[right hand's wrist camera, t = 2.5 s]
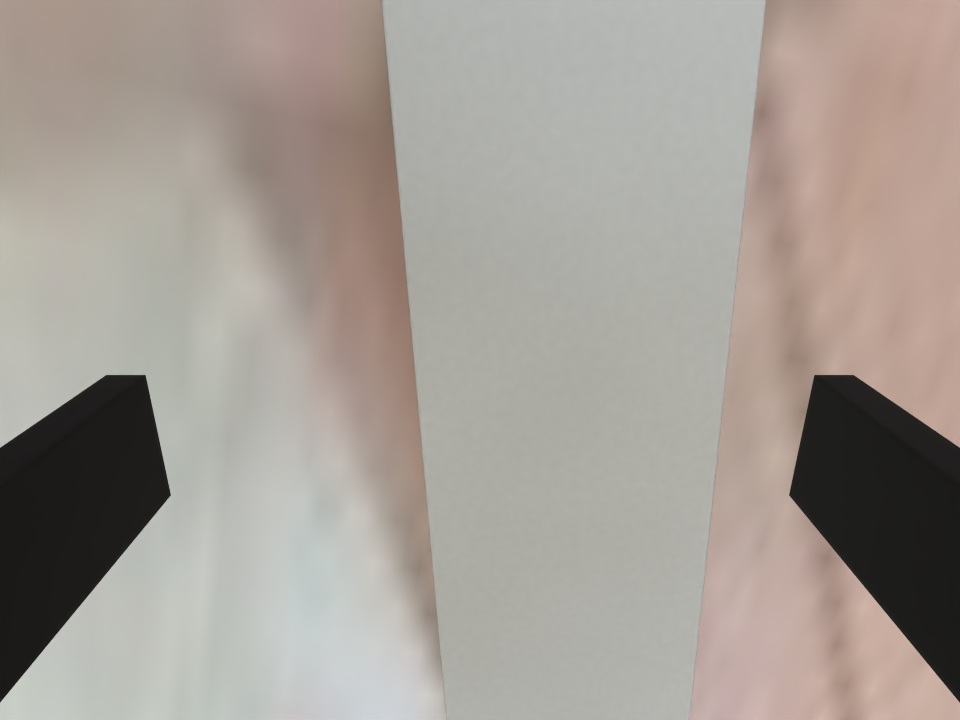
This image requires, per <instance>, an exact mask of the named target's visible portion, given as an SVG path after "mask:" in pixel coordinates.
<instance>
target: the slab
mask: <svg viewBox="0 0 960 720" xmlns="http://www.w3.org/2000/svg"><path fill="white" fill-rule="evenodd" d="M381 4H382V15H383V26H384V37H385V48H386V59H387V70H388V81H389V92H390V103H391V114H392V125H393V136H394V147H395V158H396V169H397V180H398V191H399V202H400V213H401V224H402V236H403V247H404V258H405V269H406V280H407V291H408V302H409V313H410V324H411V335H412V346H413V357H414V368H415V379H416V390H417V401H418V412H419V423H420V434H421V445H422V456H423V467H424V478H425V489H426V501H427V512H428V523H429V534H430V545H431V556H432V567H433V578H434V589H435V600H436V611H437V622H438V633H439V644H440V655H441V666H442V677H443V688H444V699H445V710H446V720H689V719H690V709H691V700H692V691H693V681H694V672H695V662H696V653H697V644H698V634H699V625H700V616H701V606H702V597H703V587H704V578H705V569H706V559H707V550H708V541H709V531H710V522H711V512H712V503H713V494H714V484H715V475H716V466H717V456H718V447H719V438H720V428H721V419H722V409H723V400H724V391H725V381H726V372H727V363H728V353H729V344H730V334H731V325H732V316H733V306H734V297H735V288H736V278H737V269H738V259H739V250H740V241H741V231H742V222H743V213H744V203H745V194H746V185H747V175H748V166H749V156H750V147H751V138H752V128H753V119H754V110H755V100H756V91H757V81H758V72H759V63H760V53H761V44H762V35H763V25H764V16H765V6H766V0H381Z"/></svg>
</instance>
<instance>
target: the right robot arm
mask: <svg viewBox="0 0 960 720" xmlns="http://www.w3.org/2000/svg"><path fill="white" fill-rule="evenodd" d="M170 496H171V494H170V489H169V484H168V480H167V475H166V470H165V465H164V461H163V456H162V451H161V446H160V442H159V437H158V432H157V428H156V423H155V418H154V413H153V409H152V404H151V399H150V394H149V390H148V385H147V380H146V375H106V376H105V377H103V378H102V379H100V380H99V381H97V382H96V383H94V384H93V385H91V386H90V387H88V388H87V389H86V390H84V391H83V392H81V393H80V394H78V395H77V396H75V397H74V398H72V399H71V400H69V401H68V402H67V403H65V404H64V405H62V406H61V407H59V408H58V409H56V410H55V411H53V412H52V413H50V414H49V415H48V416H46V417H45V418H43V419H42V420H40V421H39V422H37V423H36V424H34V425H33V426H31V427H30V428H29V429H27V430H26V431H24V432H23V433H21V434H20V435H18V436H17V437H15V438H14V439H12V440H11V441H10V442H8V443H7V444H5V445H4V446H2V447H1V448H0V702H1V701H2V700H3V698H4V697H5V696H6V695H7V694H8V692H9V691H10V690H11V689H12V687H13V686H14V685H15V684H16V683H17V681H18V680H19V679H20V678H21V677H22V675H23V674H24V673H25V672H26V670H27V669H28V668H29V667H30V666H31V664H32V663H33V662H34V661H35V660H36V658H37V657H38V656H39V655H40V653H41V652H42V651H43V650H44V649H45V647H46V646H47V645H48V644H49V643H50V641H51V640H52V639H53V638H54V636H55V635H56V634H57V633H58V632H59V630H60V629H61V628H62V627H63V625H64V624H65V623H66V622H67V621H68V619H69V618H70V617H71V616H72V615H73V613H74V612H75V611H76V610H77V608H78V607H79V606H80V605H81V604H82V602H83V601H84V600H85V599H86V598H87V596H88V595H89V594H90V593H91V591H92V590H93V589H94V588H95V587H96V585H97V584H98V583H99V582H100V581H101V579H102V578H103V577H104V576H105V574H106V573H107V572H108V571H109V570H110V568H111V567H112V566H113V565H114V564H115V562H116V561H117V560H118V559H119V557H120V556H121V555H122V554H123V553H124V551H125V550H126V549H127V548H128V547H129V545H130V544H131V543H132V542H133V540H134V539H135V538H136V537H137V536H138V534H139V533H140V532H141V531H142V530H143V528H144V527H145V526H146V525H147V523H148V522H149V521H150V520H151V519H152V517H153V516H154V515H155V514H156V513H157V511H158V510H159V509H160V508H161V506H162V505H163V504H164V503H165V502H166V500H167V499H168V498H169V497H170ZM789 496H790V497H791V498H792V499H793V500H794V502H795V503H796V504H797V505H798V506H799V508H800V509H801V510H802V511H803V513H804V514H805V515H806V516H807V517H808V519H809V520H810V521H811V522H812V523H813V525H814V526H815V527H816V528H817V530H818V531H819V532H820V533H821V534H822V536H823V537H824V538H825V539H826V540H827V542H828V543H829V544H830V545H831V547H832V548H833V549H834V550H835V551H836V553H837V554H838V555H839V556H840V557H841V559H842V560H843V561H844V562H845V564H846V565H847V566H848V567H849V568H850V570H851V571H852V572H853V573H854V574H855V576H856V577H857V578H858V579H859V581H860V582H861V583H862V584H863V585H864V587H865V588H866V589H867V590H868V591H869V593H870V594H871V595H872V596H873V598H874V599H875V600H876V601H877V602H878V604H879V605H880V606H881V607H882V608H883V610H884V611H885V612H886V613H887V615H888V616H889V617H890V618H891V619H892V621H893V622H894V623H895V624H896V625H897V627H898V628H899V629H900V630H901V632H902V633H903V634H904V635H905V636H906V638H907V639H908V640H909V641H910V643H911V644H912V645H913V646H914V647H915V649H916V650H917V651H918V652H919V653H920V655H921V656H922V657H923V658H924V660H925V661H926V662H927V663H928V664H929V666H930V667H931V668H932V669H933V670H934V672H935V673H936V674H937V675H938V677H939V678H940V679H941V680H942V681H943V683H944V684H945V685H946V686H947V687H948V689H949V690H950V691H951V692H952V694H953V695H954V696H955V697H956V698H957V700H958V701H959V702H960V448H959V447H958V446H956V445H955V444H953V443H952V442H950V441H949V440H948V439H946V438H945V437H943V436H942V435H940V434H939V433H937V432H936V431H934V430H933V429H931V428H930V427H929V426H927V425H926V424H924V423H923V422H921V421H920V420H918V419H917V418H915V417H914V416H912V415H911V414H910V413H908V412H907V411H905V410H904V409H902V408H901V407H899V406H898V405H896V404H895V403H893V402H892V401H891V400H889V399H888V398H886V397H885V396H883V395H882V394H880V393H879V392H877V391H876V390H874V389H873V388H872V387H870V386H869V385H867V384H866V383H864V382H863V381H861V380H860V379H858V378H857V377H855V376H854V375H814V380H813V385H812V390H811V394H810V399H809V404H808V409H807V413H806V418H805V423H804V428H803V432H802V437H801V442H800V446H799V451H798V456H797V461H796V465H795V470H794V475H793V480H792V484H791V489H790V494H789Z"/></svg>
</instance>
